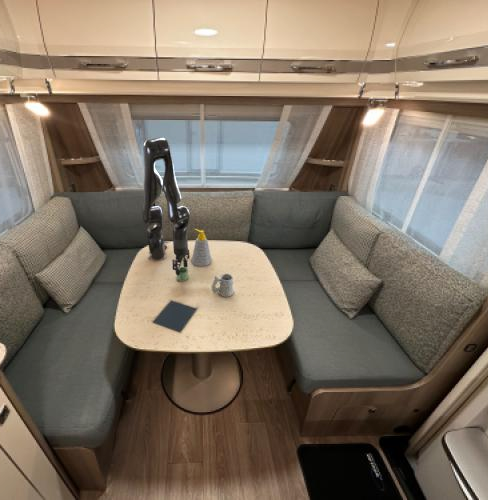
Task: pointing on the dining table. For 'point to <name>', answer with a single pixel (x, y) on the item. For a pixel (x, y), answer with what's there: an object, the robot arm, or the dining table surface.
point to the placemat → (175, 316)
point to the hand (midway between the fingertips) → (181, 270)
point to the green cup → (183, 274)
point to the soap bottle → (201, 251)
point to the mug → (223, 285)
